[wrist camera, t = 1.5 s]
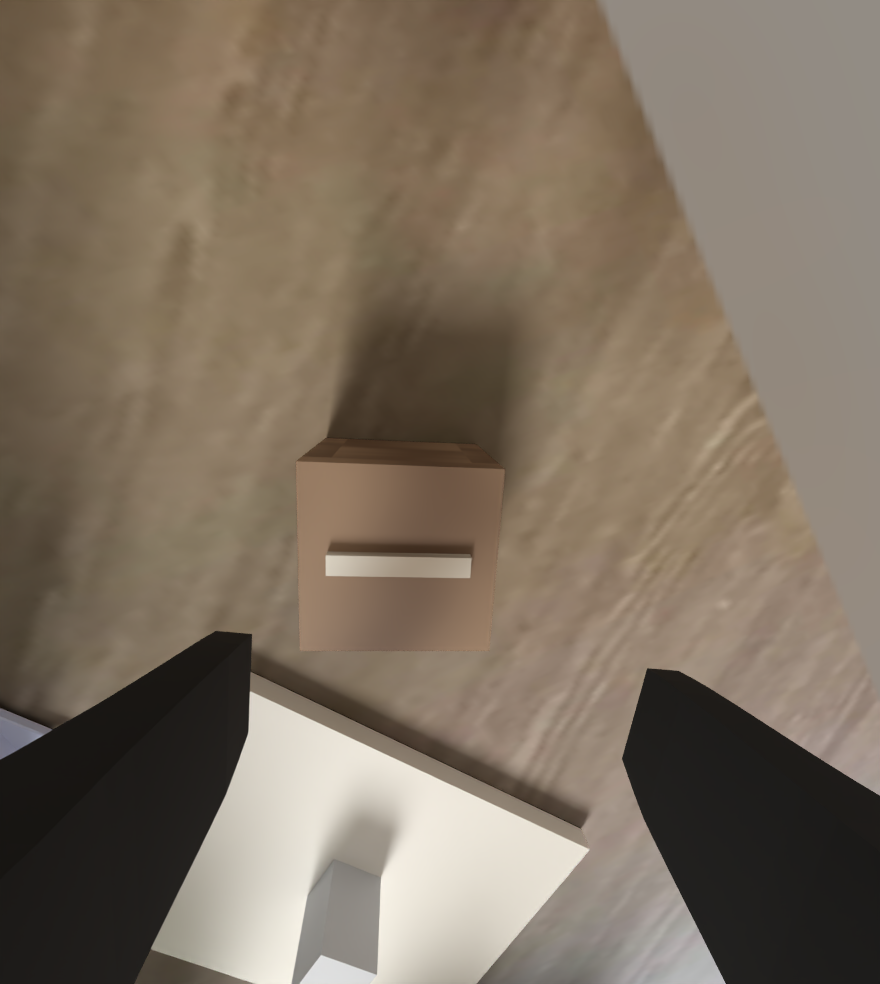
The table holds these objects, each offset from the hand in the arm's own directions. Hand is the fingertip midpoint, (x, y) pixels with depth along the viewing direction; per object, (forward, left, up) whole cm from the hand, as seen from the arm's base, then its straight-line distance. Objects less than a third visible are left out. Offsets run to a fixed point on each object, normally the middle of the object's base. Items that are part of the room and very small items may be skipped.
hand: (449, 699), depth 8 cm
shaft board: (+6, -16, -10) cm, 20 cm away
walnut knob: (-1, 0, -10) cm, 10 cm away
